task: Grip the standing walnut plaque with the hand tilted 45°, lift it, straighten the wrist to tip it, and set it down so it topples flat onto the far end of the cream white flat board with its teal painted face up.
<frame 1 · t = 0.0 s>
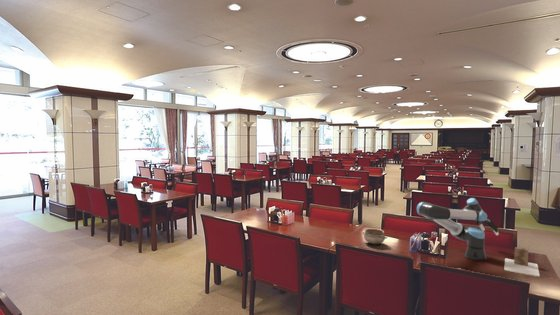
hand: (490, 232, 271), 15 cm above the table, fingers open, 13 cm apart
walnut plaque: (520, 264, 236), point 1 cm above the table, touching cream white flat board
cream white flat board: (521, 267, 232), on the table
cooking pot: (374, 244, 287), on the table
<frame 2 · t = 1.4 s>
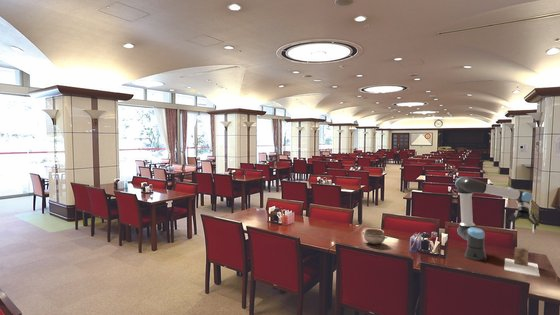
hand: (522, 231, 244), 24 cm above the table, fingers open, 13 cm apart
nothing on the table moved.
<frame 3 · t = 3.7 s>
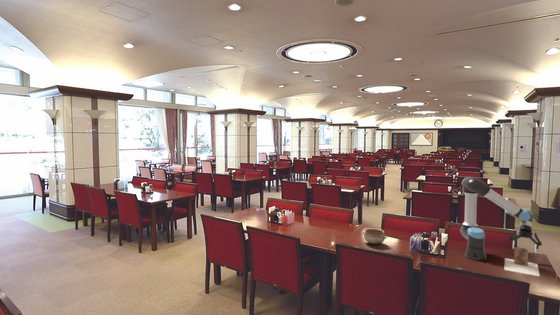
hand: (524, 250, 239), 10 cm above the table, fingers open, 13 cm apart
nothing on the table moved.
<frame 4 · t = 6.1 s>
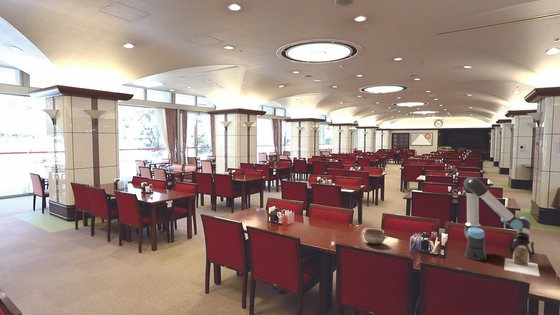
hand: (520, 260, 234), 5 cm above the table, fingers closed on walnut plaque, 8 cm apart
walnut plaque: (520, 264, 236), point 1 cm above the table, touching cream white flat board, gripper
everything else where it was.
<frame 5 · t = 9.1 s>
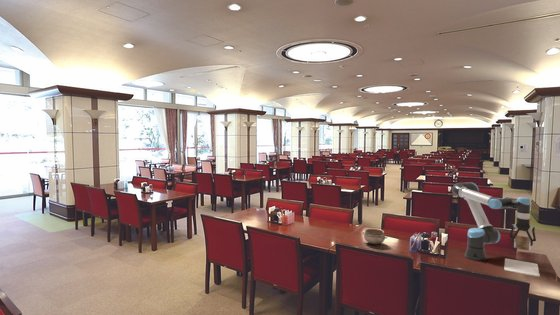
hand: (522, 248, 230), 15 cm above the table, fingers closed on walnut plaque, 8 cm apart
walnut plaque: (522, 247, 234), point 15 cm above the table, tilted 45°, touching gripper
everything else where it was.
when the fingers open (4 cm above the table, at t = 11.6 s): walnut plaque moves 2 cm and tips over, resting on cream white flat board.
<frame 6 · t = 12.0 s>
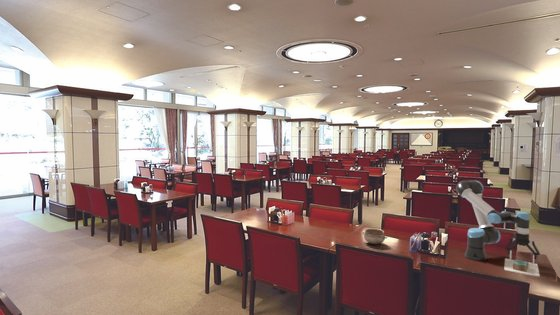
hand: (521, 261, 230), 5 cm above the table, fingers open, 13 cm apart
walnut plaque: (521, 263, 233), point 3 cm above the table, tilted 90°, touching cream white flat board
everything else where it was.
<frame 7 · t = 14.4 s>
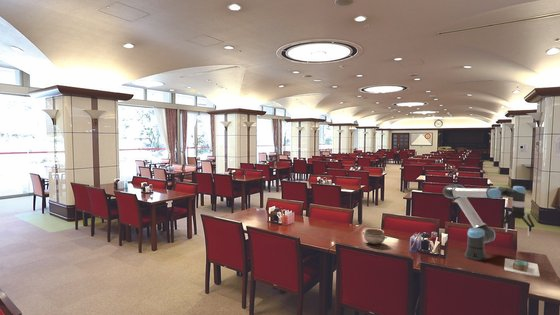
hand: (517, 233, 238), 24 cm above the table, fingers open, 13 cm apart
nothing on the table moved.
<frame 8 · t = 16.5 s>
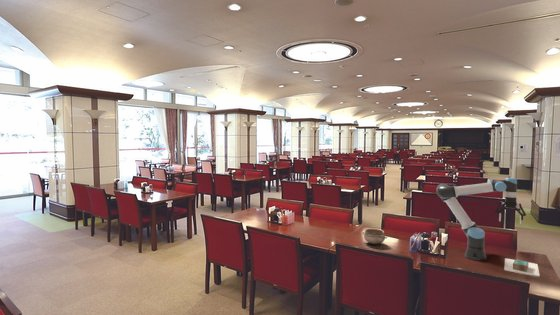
hand: (510, 222, 253), 29 cm above the table, fingers open, 13 cm apart
nothing on the table moved.
at the end: walnut plaque tilted 90°; walnut plaque inside the target area on the cream white flat board (1.2 cm from its centre), point 2.8 cm above the cream white flat board's base; walnut plaque touching cream white flat board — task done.
